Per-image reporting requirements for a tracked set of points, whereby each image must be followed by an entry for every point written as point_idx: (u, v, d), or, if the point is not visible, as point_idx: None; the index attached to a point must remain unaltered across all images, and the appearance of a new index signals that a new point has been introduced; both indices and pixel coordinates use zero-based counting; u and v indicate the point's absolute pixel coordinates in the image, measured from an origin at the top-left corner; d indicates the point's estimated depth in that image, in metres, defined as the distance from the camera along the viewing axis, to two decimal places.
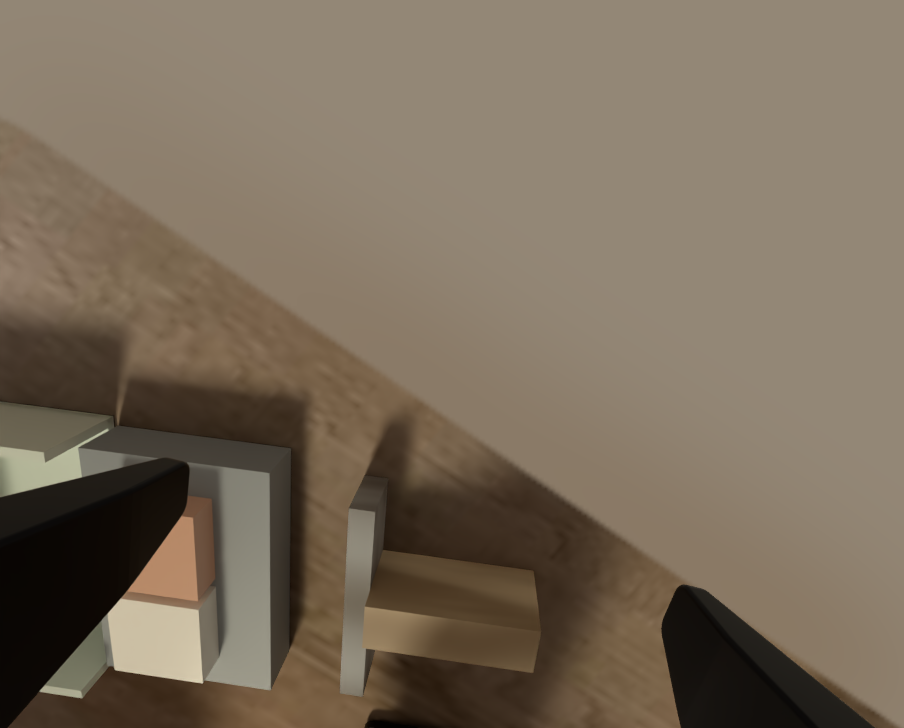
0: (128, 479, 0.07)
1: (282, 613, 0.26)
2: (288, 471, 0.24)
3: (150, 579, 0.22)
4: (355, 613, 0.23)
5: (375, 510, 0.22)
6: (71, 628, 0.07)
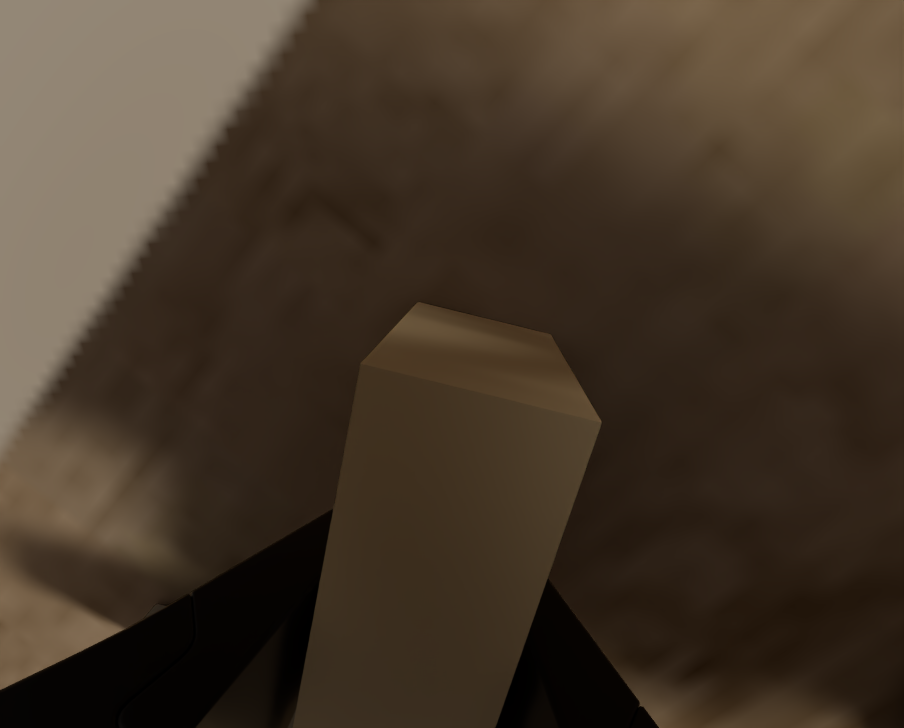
0: None
1: None
2: None
3: None
4: None
5: None
6: None
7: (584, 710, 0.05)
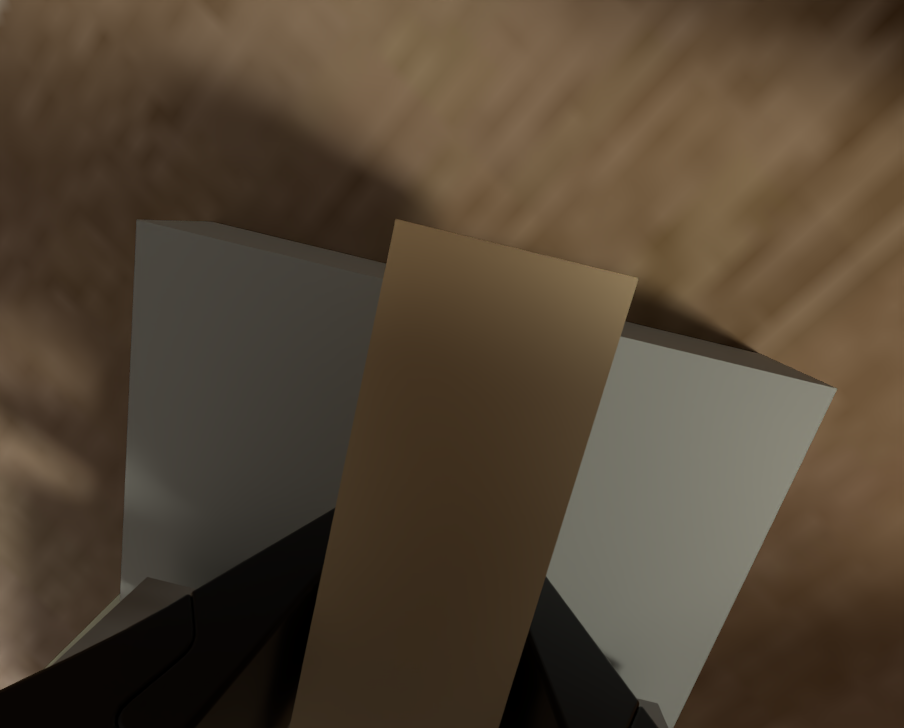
0: None
1: None
2: (253, 233, 0.11)
3: None
4: None
5: None
6: None
7: (584, 710, 0.05)
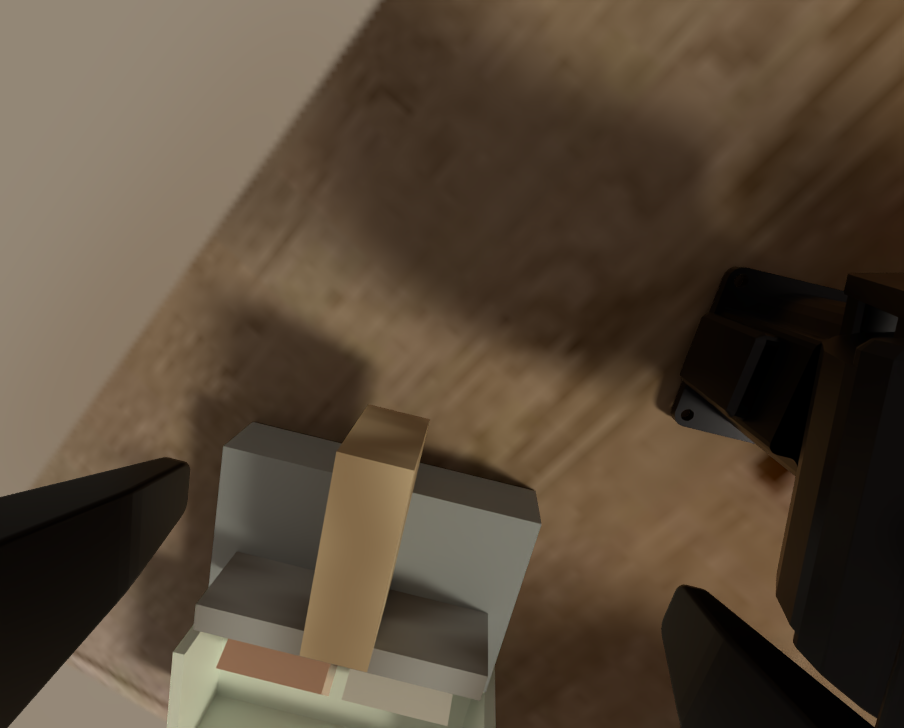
0: (128, 479, 0.07)
1: (454, 483, 0.21)
2: (274, 430, 0.21)
3: None
4: None
5: (199, 601, 0.18)
6: (71, 628, 0.07)
7: None
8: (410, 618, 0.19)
